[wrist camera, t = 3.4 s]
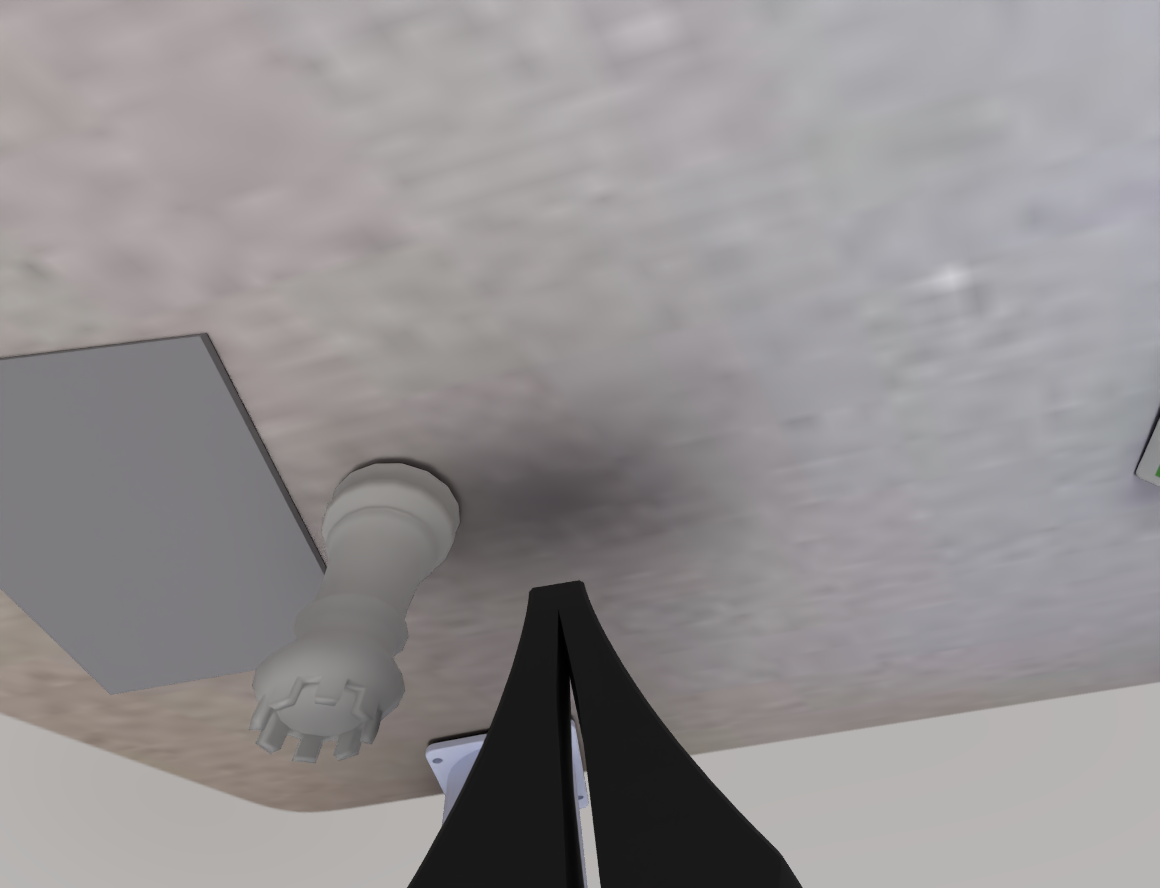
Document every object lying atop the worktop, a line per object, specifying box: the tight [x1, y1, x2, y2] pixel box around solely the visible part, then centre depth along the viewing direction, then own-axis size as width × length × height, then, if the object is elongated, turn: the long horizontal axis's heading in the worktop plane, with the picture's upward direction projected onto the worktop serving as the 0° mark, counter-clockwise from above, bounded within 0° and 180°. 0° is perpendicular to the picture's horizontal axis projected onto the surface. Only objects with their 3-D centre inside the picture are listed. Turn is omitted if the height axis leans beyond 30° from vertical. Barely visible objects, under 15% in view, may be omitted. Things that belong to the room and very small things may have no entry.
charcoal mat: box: [0, 333, 327, 695], centre depth 16 cm, size 14×10×1 cm
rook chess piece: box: [249, 463, 460, 763], centre depth 13 cm, size 4×4×8 cm
